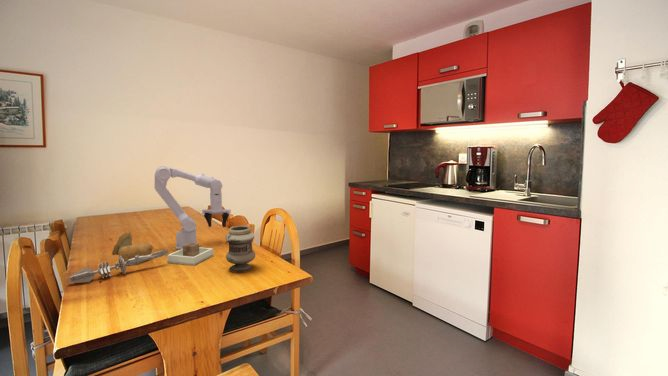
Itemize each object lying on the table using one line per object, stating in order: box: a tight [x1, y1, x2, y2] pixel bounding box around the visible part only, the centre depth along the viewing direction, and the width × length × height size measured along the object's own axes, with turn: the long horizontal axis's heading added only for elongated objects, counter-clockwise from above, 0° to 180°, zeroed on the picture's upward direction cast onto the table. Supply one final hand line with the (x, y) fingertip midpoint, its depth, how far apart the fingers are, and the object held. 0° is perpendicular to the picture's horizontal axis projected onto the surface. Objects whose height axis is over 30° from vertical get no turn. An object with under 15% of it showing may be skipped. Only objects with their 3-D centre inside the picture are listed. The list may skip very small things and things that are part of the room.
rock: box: [111, 231, 133, 255], centre depth 162 cm, size 10×8×10 cm
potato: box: [117, 242, 154, 262], centre depth 148 cm, size 10×14×8 cm
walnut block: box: [182, 242, 200, 257], centre depth 151 cm, size 5×5×6 cm
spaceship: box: [67, 249, 169, 284], centre depth 133 cm, size 8×35×8 cm
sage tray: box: [166, 246, 214, 266], centre depth 151 cm, size 14×14×4 cm
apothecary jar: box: [225, 225, 256, 274], centre depth 138 cm, size 12×12×18 cm
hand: (217, 226), depth 175 cm, fingers open, 7 cm apart
